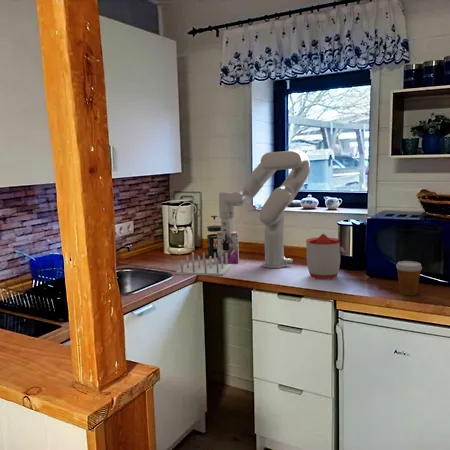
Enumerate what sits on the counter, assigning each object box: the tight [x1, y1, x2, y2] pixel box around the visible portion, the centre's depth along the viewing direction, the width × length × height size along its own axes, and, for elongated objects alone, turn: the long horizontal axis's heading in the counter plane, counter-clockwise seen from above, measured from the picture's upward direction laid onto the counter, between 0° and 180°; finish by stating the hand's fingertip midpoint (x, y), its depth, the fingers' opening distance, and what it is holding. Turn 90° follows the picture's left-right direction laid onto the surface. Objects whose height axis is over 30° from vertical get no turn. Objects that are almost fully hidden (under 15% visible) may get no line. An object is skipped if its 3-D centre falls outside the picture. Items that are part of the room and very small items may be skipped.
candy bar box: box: [216, 231, 240, 265], centre depth 241 cm, size 11×5×16 cm, turn 84°
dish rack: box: [175, 251, 234, 277], centre depth 228 cm, size 24×19×7 cm
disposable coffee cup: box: [396, 260, 423, 296], centre depth 181 cm, size 10×10×12 cm
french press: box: [206, 215, 221, 259], centre depth 257 cm, size 12×9×23 cm
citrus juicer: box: [305, 233, 346, 280], centre depth 208 cm, size 16×17×20 cm
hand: (227, 248), depth 241 cm, fingers open, 6 cm apart
